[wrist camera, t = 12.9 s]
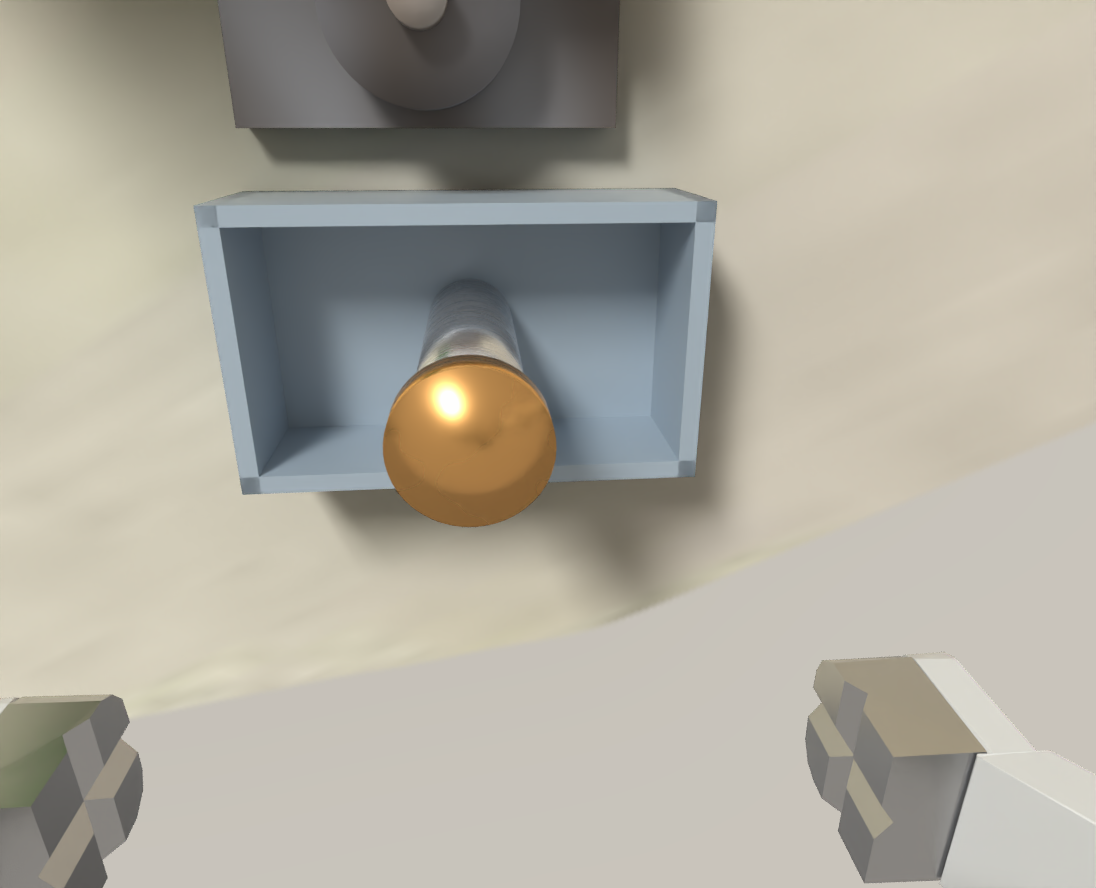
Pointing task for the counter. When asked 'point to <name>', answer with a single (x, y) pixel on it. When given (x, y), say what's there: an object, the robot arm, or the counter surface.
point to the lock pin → (469, 416)
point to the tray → (403, 308)
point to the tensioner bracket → (422, 63)
